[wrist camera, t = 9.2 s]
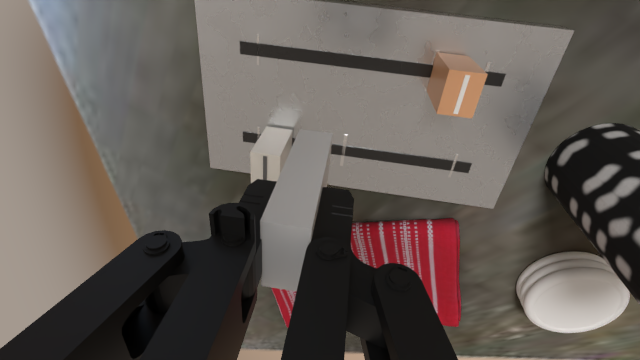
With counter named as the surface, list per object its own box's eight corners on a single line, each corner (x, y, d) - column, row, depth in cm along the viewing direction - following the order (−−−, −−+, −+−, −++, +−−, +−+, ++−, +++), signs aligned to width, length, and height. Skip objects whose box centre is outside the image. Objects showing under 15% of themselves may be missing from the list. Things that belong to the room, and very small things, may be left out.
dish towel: (457, 314, 46) (461, 332, 43) (285, 316, 50) (281, 332, 48) (460, 210, 37) (466, 226, 35) (253, 224, 42) (246, 239, 39)
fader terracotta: (436, 52, 26) (449, 69, 22) (469, 56, 26) (488, 74, 22) (426, 90, 28) (436, 114, 24) (456, 94, 28) (472, 119, 23)
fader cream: (266, 126, 31) (249, 152, 27) (292, 129, 31) (280, 156, 27) (266, 155, 33) (250, 184, 29) (291, 158, 33) (279, 188, 28)
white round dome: (523, 248, 38) (535, 272, 35) (625, 248, 36) (648, 274, 33) (508, 308, 43) (518, 333, 40) (597, 310, 42) (614, 337, 39)
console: (204, -15, 28) (192, -14, 26) (561, 26, 26) (575, 30, 24) (217, 158, 36) (210, 168, 35) (487, 196, 35) (493, 209, 33)
